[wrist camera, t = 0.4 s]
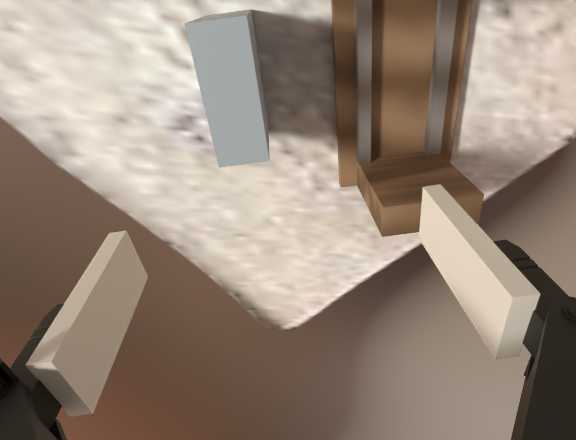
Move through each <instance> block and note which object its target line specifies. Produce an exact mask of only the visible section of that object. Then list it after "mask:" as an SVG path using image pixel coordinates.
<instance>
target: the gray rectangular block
mask: <svg viewBox="0 0 576 440" xmlns="http://www.w3.org/2000/svg"><path fill="white" fill-rule="evenodd" d="M185 28H186V32H187V36H188V40H189V45H190V49H191V53H192V57H193V61H194V65H195V70H196V74H197V78H198V82H199V86H200V90H201V94H202V99H203V103H204V107H205V111H206V115H207V119H208V123H209V128H210V132H211V136H212V140H213V144H214V148H215V152H216V157H217V161H218V165H219V167H226V166H234V165H241V164H249V163H257V162H264V161H269V132H268V118H267V111H266V104H265V97H264V91H263V84H262V77H261V71H260V64H259V57H258V51H257V44H256V37H255V30H254V24H253V17H252V10H244V11H237V12H230V13H222V14H215V15H208V16H204V17H201V18H199V19H196V20H194V21H191V22H188V23H186V24H185Z"/></svg>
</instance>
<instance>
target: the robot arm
mask: <svg viewBox="0 0 576 440" xmlns="http://www.w3.org/2000/svg"><path fill="white" fill-rule="evenodd" d="M419 239H420V241H421V242H422V244H423V246H424V247H425V249H426V250H427V252H428V253H429V255H430V257H431V258H432V260H433V261H434V263H435V265H436V266H437V268H438V269H439V271H440V272H441V274H442V276H443V277H444V279H445V281H446V282H447V284H448V285H449V287H450V289H451V290H452V292H453V293H454V295H455V297H456V298H457V300H458V301H459V303H460V305H461V306H462V308H463V309H464V311H465V312H466V314H467V316H468V317H469V318H470V320H471V322H472V324H473V325H474V327H475V328H476V330H477V332H478V333H479V335H480V336H481V338H482V340H483V341H484V343H485V344H486V346H487V347H488V349H489V351H490V352H491V354H492V356H493V357H494V359H501V358H509V357H517V356H519V355H520V352H521V349H522V346H523V344H524V345H525V347H526V348H527V349H528V351H529V352H530V353H531V357H530V360H529V363H528V365H527V368H526V371H525V373H524V376H526V377H525V381H524V385H523V390H522V394H521V398H520V403H519V407H518V411H517V416H516V420H515V424H514V428H513V433H512V437H511V440H576V298H574V297H569V296H568V295H567V294H566V293H565V292H564V291H563V290H562V289H561V288H560V287H559V286H558V285H557V284H556V283H555V282H554V281H553V280H552V279H551V278H550V277H549V276H548V275H547V274H546V273H545V272H544V271H543V270H542V269H541V268H540V267H538V265H537V264H536V263H535V262H534V261H533V260H532V259H530V257H529V256H528V255H527V254H526V253H525V252H524V251H523V250H522V249H521V248H520V247H518V246H516V245H515V244H513V243H511V242H509V241H507V240H501V241H492V240H491V239H490V238H489V237H488V236H487V235H486V234H485V233H484V232H483V230H482V229H481V228H480V227H479V226H478V225H477V224H476V223H475V222H474V220H473V219H472V218H471V217H470V216H469V215H468V214H467V213H466V212H465V211H464V209H463V208H462V207H461V206H460V205H459V204H458V203H457V202H456V201H455V200H454V199H453V197H452V196H451V195H450V194H449V193H448V192H447V191H446V190H445V189H444V188H443V186H442V185H441V184H439V185H432V186H426V187H423V191H422V204H421V216H420V229H419ZM147 278H148V277H147V274H146V272H145V270H144V268H143V266H142V263H141V261H140V259H139V257H138V255H137V253H136V250H135V248H134V246H133V244H132V242H131V240H130V238H129V236H128V233H127V231H121V232H115V233H109V234H108V236H107V238H106V239H105V241H104V242H103V244H102V245H101V247H100V249H99V250H98V252H97V253H96V255H95V256H94V258H93V260H92V261H91V263H90V265H89V266H88V267H87V269H86V271H85V272H84V274H83V275H82V277H81V278H80V280H79V282H78V283H77V285H76V286H75V288H74V289H73V291H72V293H71V294H70V296H69V297H68V299H67V301H66V302H65V304H58V305H57V306H56V307H54V308H53V309H52V310H51V311H50V312H49V313H48V314H47V315H46V316H45V317H44V319H43V320H42V321H41V323H40V325H39V326H38V328H37V330H36V331H35V332H34V334H33V335H32V336H31V340H29V341H28V342H27V344H26V345H25V347H24V348H23V350H22V351H21V353H20V354H19V356H18V357H17V359H16V360H15V362H14V363H13V365H12V366H11V368H9V367H8V366H7V365H6V364H5V363H4V362H3V361H2V359H1V358H0V440H67V439H66V436H65V434H64V431H63V429H62V426H61V424H60V422H59V421H58V420H57V419H56V417H57V415H58V413H59V411H60V409H61V407H62V408H63V409H64V410H65V411H66V412H67V414H68V415H69V416H77V415H85V414H92V413H93V412H94V409H95V407H96V404H97V401H98V399H99V397H100V394H101V392H102V389H103V387H104V384H105V382H106V380H107V377H108V374H109V372H110V370H111V367H112V365H113V362H114V360H115V357H116V355H117V352H118V350H119V347H120V345H121V342H122V340H123V338H124V335H125V333H126V330H127V328H128V325H129V323H130V320H131V318H132V315H133V313H134V310H135V308H136V305H137V303H138V300H139V298H140V295H141V293H142V290H143V288H144V286H145V283H146V281H147Z"/></svg>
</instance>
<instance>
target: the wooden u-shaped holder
mask: <svg viewBox="0 0 576 440" xmlns="http://www.w3.org/2000/svg"><path fill="white" fill-rule="evenodd" d="M331 3H332V26H333V48H334V71H335V93H336V116H337V139H338V161H339V183H340V186H341V187H347V186H355V185H357V186H358V188H359V190H360V192H361V194H362V196H363V198H364V200H365V202H366V204H367V206H368V209H369V211H370V213H371V215H372V217H373V219H374V221H375V223H376V225H377V227H378V229H379V231H380V233H381V235H382V237H384V236H392V235H400V234H407V233H415V232H419V229H420V216H421V204H422V191H423V187H426V186H432V185H439V184H441V185H442V186H443V188H444V189H445V190H446V191H447V192H448V193H449V194H450V195H451V196H452V197H453V199H454V200H455V201H456V202H457V203H458V204H459V205H460V206H461V207H462V208H463V209H464V211H465V212H466V213H467V214H468V215H469V216H470V217H471V218H472V219H473V220H474V222H475V223H476V224H478V222H479V217H480V211H481V207H482V202H483V197H484V194H483V193H482V192H481V191H480V190H479V189H478V188H477V187H475V186H474V185H473V184H472V183H471V182H470V181H469V180H468V179H467V178H466V177H464V176H463V175H462V174H461V173H460V172H459V171H458V170H457V169H456V168H455V167H454V166H452V165H451V164H450V160H451V152H452V145H453V138H454V131H455V123H456V116H457V109H458V102H459V94H460V87H461V80H462V72H463V65H464V58H465V51H466V43H467V36H468V29H469V22H470V14H471V7H472V0H331Z"/></svg>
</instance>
